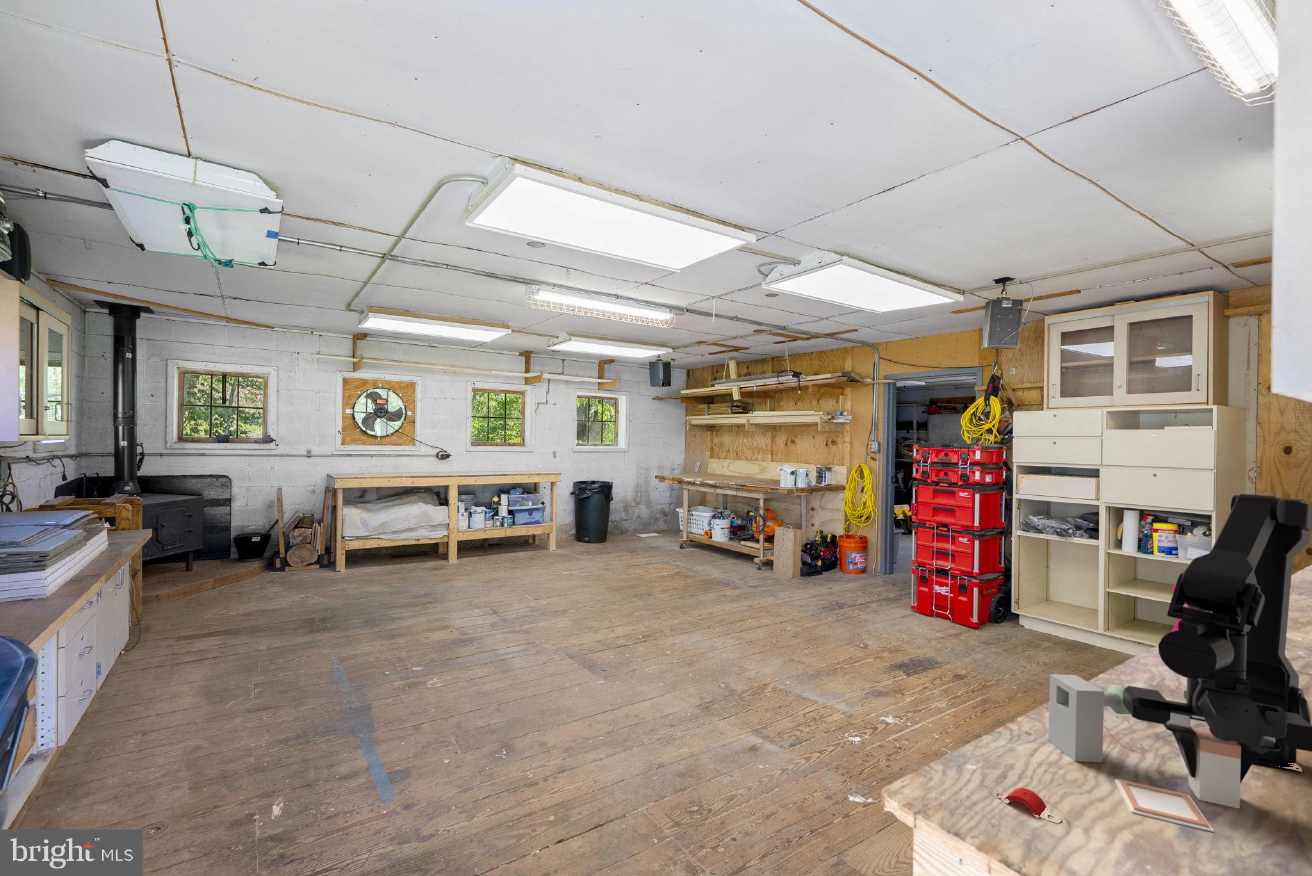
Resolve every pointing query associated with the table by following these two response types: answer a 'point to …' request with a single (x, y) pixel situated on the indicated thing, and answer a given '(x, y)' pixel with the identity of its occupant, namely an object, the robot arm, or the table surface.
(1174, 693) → the table surface
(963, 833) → the table surface
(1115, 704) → the button
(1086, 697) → the button box
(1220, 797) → the white orange-topped block
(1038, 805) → the pipe clamp
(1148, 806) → the white flat square plate
